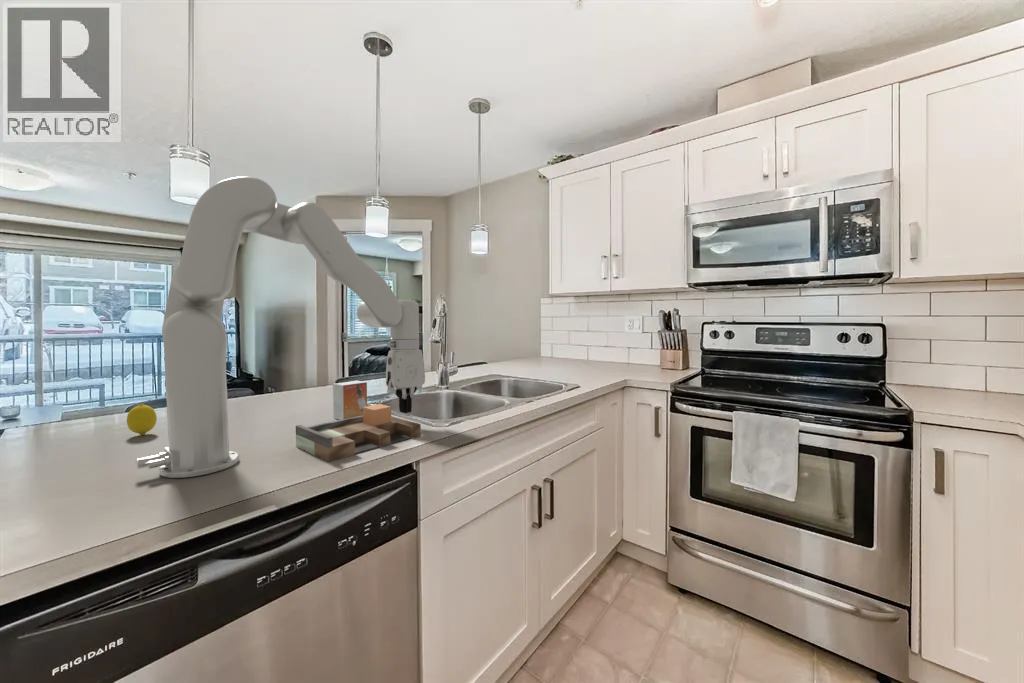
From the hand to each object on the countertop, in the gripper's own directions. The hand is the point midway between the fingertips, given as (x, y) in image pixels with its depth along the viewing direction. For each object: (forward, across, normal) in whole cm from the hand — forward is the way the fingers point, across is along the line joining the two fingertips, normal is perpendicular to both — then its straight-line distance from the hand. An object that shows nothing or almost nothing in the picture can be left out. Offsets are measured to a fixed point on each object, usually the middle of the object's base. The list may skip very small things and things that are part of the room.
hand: (405, 411), depth 111 cm
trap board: (+4, -15, -2) cm, 16 cm away
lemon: (+4, -47, +44) cm, 65 cm away
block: (+1, -9, 0) cm, 9 cm away
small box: (+4, -4, +21) cm, 22 cm away
